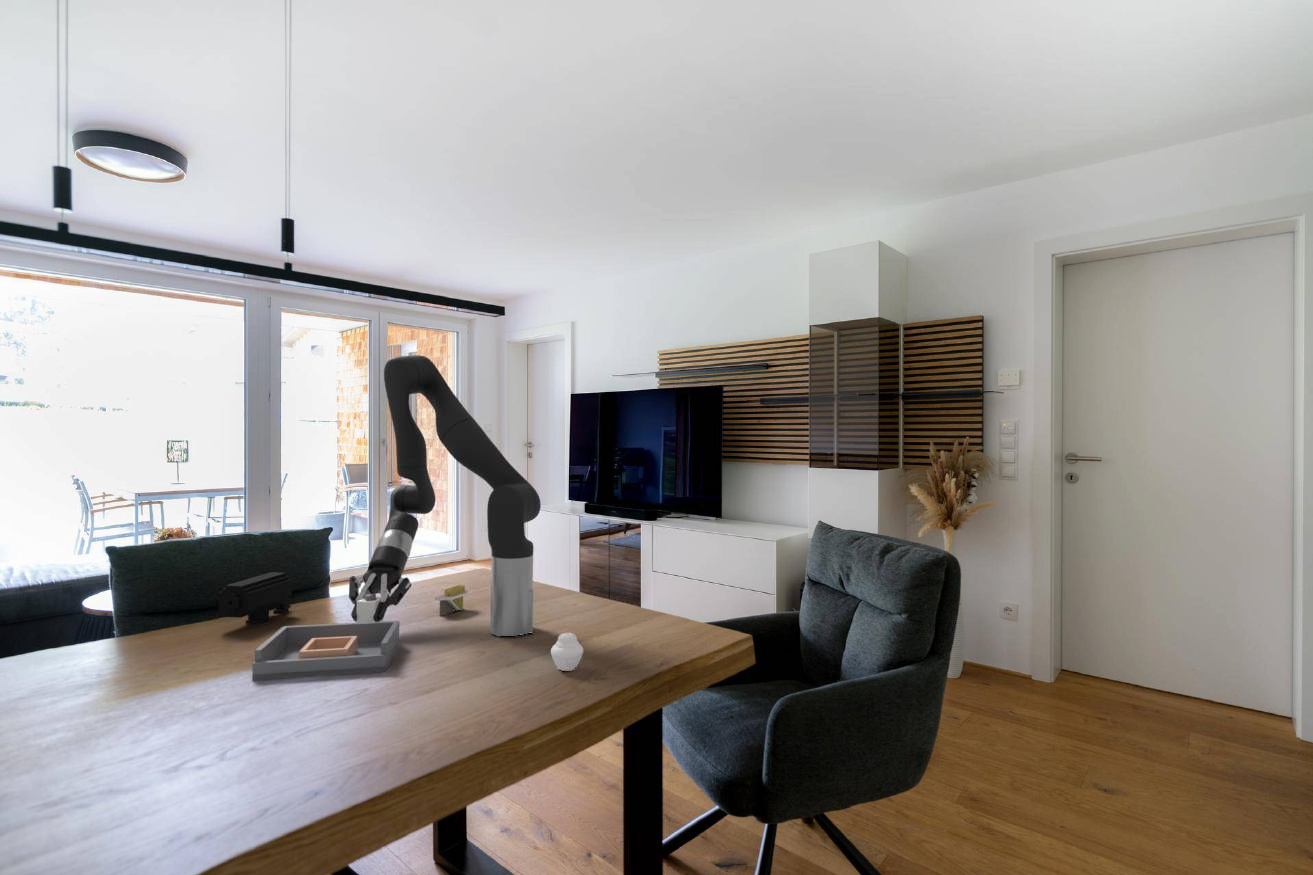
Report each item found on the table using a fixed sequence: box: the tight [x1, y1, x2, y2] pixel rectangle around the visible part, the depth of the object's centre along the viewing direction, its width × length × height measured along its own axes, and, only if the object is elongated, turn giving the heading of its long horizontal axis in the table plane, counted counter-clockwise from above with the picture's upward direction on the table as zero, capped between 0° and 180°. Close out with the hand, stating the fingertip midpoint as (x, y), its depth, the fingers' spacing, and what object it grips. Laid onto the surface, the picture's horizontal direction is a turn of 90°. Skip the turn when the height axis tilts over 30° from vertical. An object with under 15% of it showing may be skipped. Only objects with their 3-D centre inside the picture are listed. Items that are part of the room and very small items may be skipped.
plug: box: [355, 594, 384, 623], centre depth 139 cm, size 4×4×9 cm
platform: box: [434, 584, 470, 617], centre depth 159 cm, size 12×18×7 cm, turn 158°
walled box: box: [251, 620, 400, 681], centre depth 124 cm, size 22×16×5 cm
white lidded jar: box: [550, 632, 584, 670], centre depth 121 cm, size 6×6×7 cm
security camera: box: [217, 571, 293, 625], centre depth 150 cm, size 7×18×10 cm, turn 174°
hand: (365, 619), depth 137 cm, fingers closed on plug, 4 cm apart
